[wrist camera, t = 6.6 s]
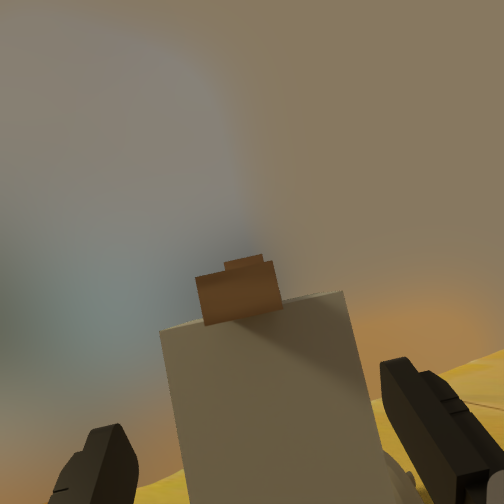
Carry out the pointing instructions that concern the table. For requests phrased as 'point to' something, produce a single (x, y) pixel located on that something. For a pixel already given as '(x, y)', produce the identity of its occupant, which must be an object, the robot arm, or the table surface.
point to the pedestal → (276, 408)
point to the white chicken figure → (402, 483)
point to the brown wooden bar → (239, 291)
